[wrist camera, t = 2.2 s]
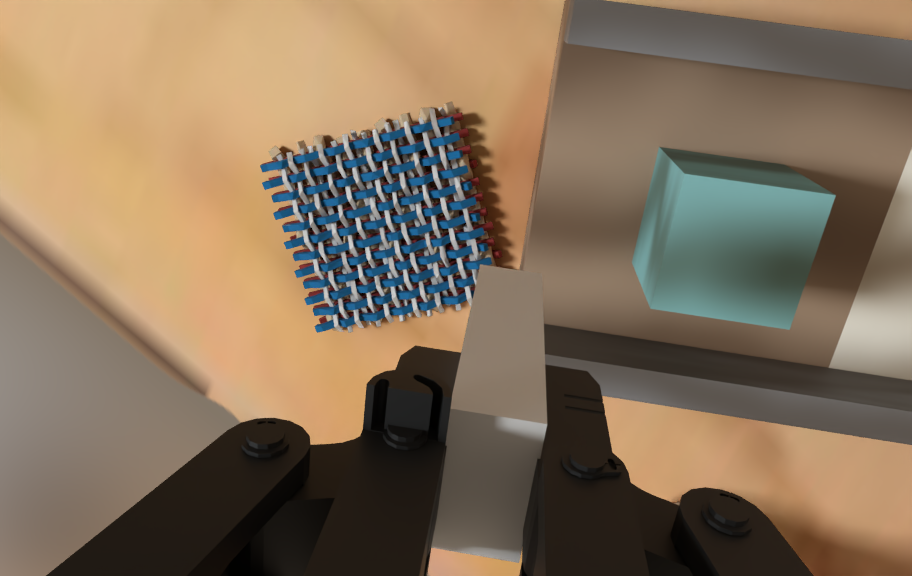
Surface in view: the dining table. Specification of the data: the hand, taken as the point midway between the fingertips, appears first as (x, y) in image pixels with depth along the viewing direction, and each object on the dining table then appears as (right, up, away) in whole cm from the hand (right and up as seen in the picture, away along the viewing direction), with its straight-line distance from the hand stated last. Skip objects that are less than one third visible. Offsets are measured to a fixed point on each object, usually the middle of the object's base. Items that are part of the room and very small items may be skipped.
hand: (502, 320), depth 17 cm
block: (+9, +4, +12) cm, 15 cm away
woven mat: (-4, +4, +19) cm, 20 cm away
